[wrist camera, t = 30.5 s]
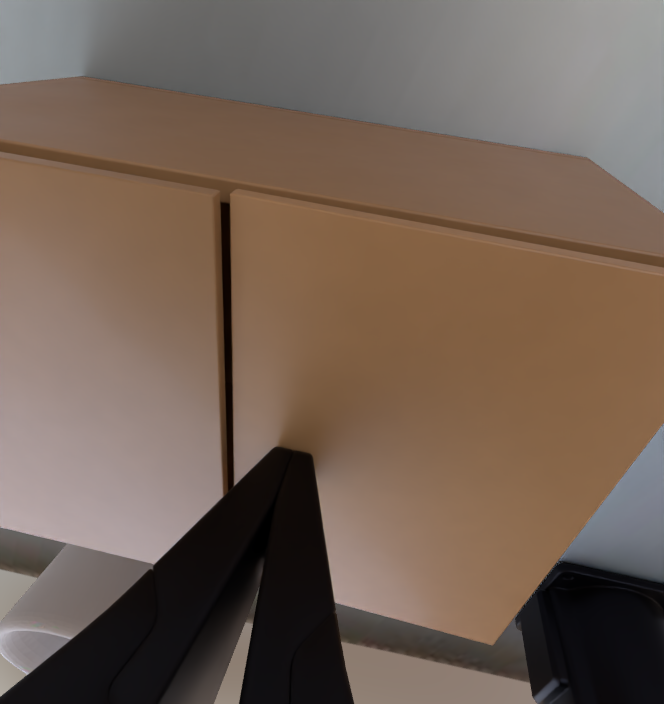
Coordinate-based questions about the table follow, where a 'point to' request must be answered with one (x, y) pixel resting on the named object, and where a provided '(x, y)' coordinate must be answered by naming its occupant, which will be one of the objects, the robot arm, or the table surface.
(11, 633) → the cup
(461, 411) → the flap
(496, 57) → the table surface
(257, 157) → the carton
